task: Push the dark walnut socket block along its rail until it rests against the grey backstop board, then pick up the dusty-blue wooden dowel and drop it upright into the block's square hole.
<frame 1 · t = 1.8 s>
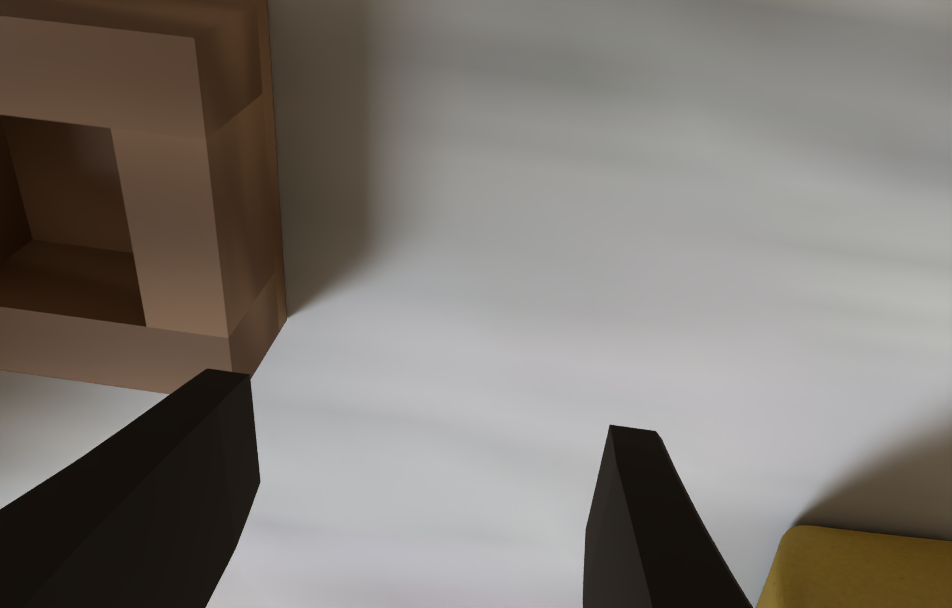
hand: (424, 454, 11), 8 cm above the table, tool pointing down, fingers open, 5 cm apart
flower pot: (850, 582, 23), on the table
socket block: (73, 187, 17), point 2 cm above the table, slide at 0.0 cm
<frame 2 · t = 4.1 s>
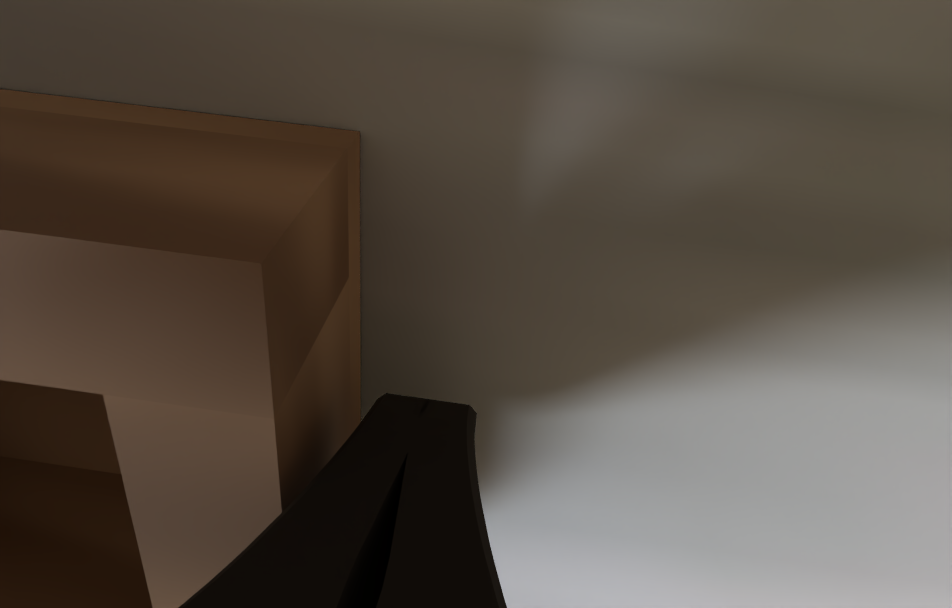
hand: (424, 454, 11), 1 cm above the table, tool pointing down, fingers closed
socket block: (46, 417, 11), point 2 cm above the table, slide at 0.5 cm, touching gripper
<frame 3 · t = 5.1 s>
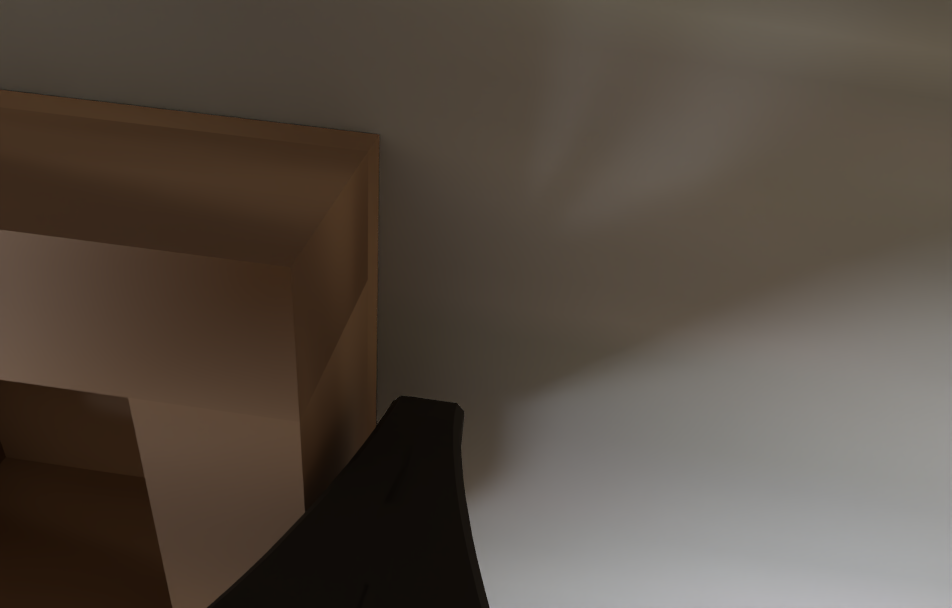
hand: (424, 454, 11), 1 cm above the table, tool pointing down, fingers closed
socket block: (64, 420, 11), point 2 cm above the table, slide at 5.1 cm, touching gripper
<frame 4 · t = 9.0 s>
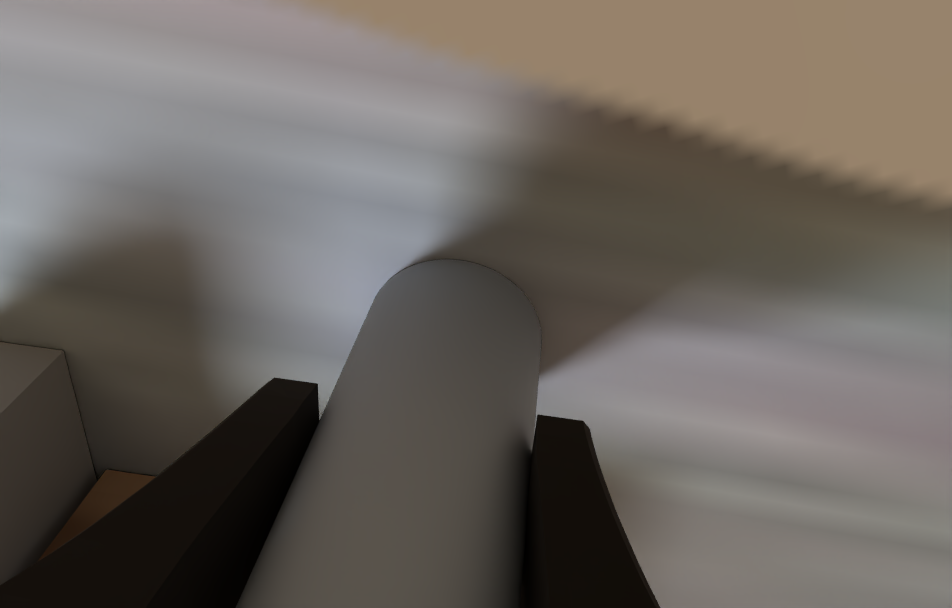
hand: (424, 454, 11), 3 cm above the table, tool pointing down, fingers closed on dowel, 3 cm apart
backstop: (88, 597, 18), on the table
dowel: (454, 336, 13), on the table, touching gripper
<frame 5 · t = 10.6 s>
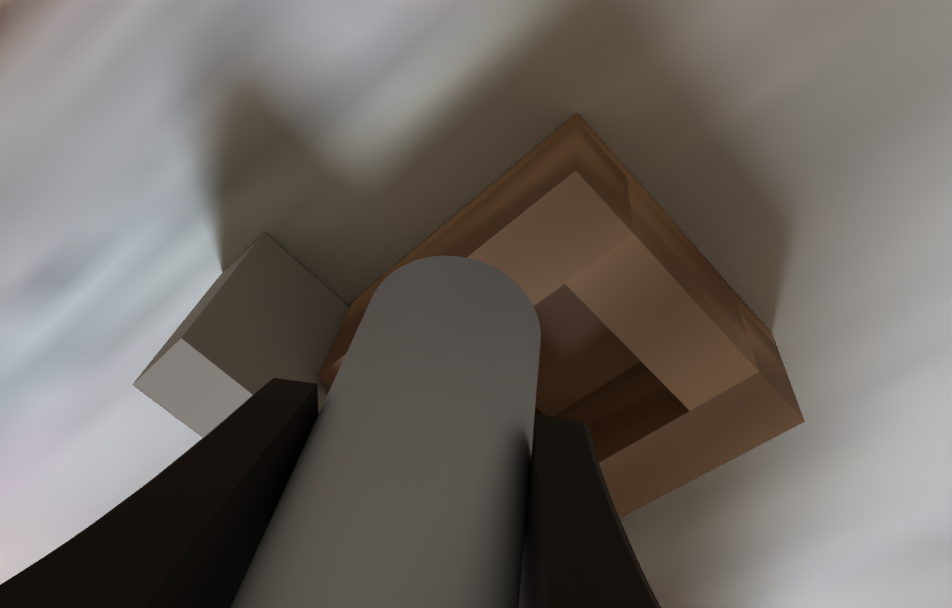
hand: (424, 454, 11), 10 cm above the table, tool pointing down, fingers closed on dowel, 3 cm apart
backstop: (435, 419, 23), on the table
dowel: (452, 333, 13), point 7 cm above the table, touching gripper
socket block: (556, 354, 19), point 2 cm above the table, slide at 5.0 cm
when the fingers open (5 cm above the table, at t = 12.4 s): dowel drops 1 cm, resting on socket block.
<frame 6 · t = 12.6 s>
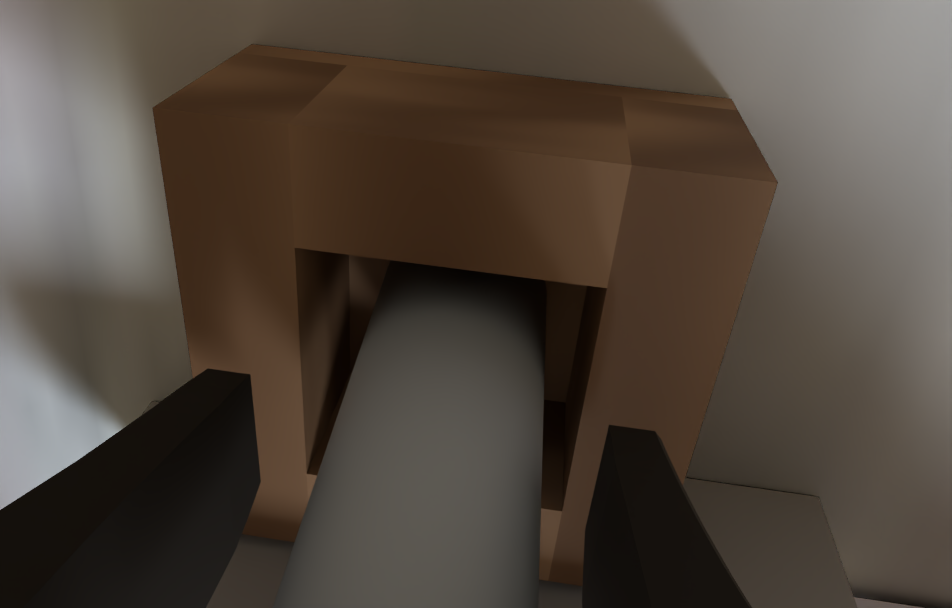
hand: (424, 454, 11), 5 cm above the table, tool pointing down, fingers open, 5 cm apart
backstop: (473, 480, 18), on the table
dowel: (465, 293, 14), point 1 cm above the table, touching socket block
socket block: (456, 328, 13), point 2 cm above the table, slide at 5.0 cm, touching dowel
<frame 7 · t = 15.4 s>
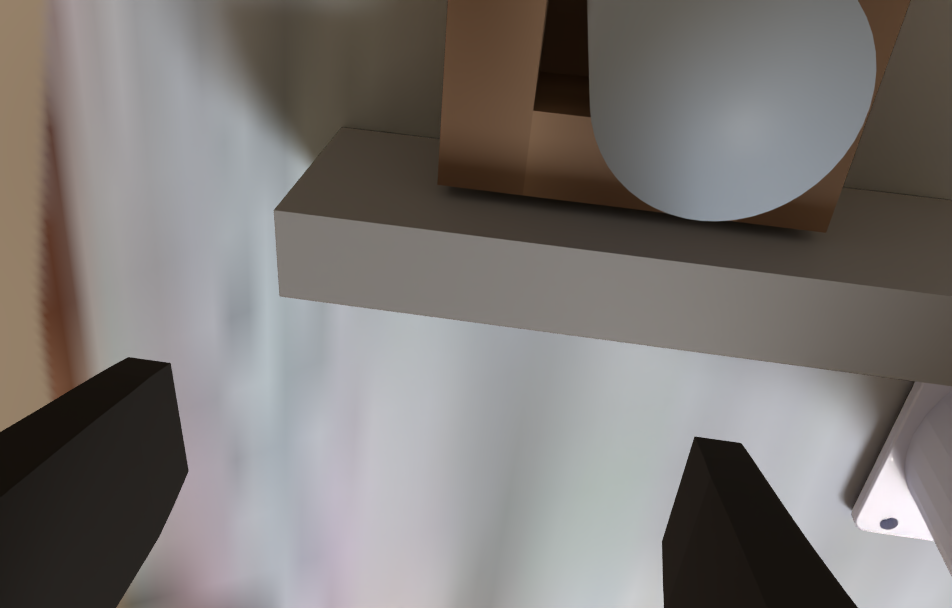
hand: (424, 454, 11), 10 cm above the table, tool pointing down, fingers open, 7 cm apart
backstop: (632, 200, 19), on the table
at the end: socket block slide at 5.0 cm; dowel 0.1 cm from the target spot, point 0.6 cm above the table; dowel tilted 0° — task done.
